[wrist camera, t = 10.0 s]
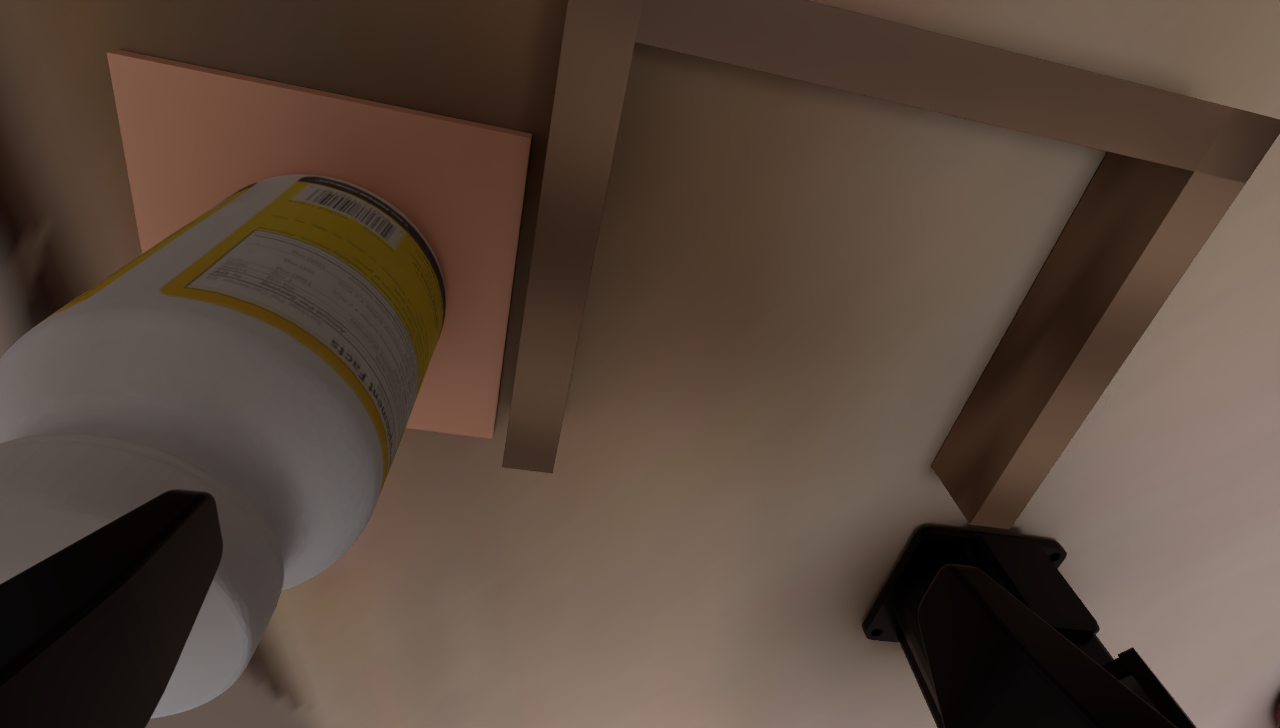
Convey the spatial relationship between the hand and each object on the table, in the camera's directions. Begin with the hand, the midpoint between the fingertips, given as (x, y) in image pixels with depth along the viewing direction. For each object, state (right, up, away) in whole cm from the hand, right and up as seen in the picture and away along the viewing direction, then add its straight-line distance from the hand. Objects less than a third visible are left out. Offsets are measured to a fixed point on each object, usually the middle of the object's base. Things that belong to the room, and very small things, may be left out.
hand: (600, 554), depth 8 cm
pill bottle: (-8, +5, +11) cm, 15 cm away
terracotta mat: (-8, +5, +11) cm, 15 cm away
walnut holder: (+6, +5, +12) cm, 15 cm away
